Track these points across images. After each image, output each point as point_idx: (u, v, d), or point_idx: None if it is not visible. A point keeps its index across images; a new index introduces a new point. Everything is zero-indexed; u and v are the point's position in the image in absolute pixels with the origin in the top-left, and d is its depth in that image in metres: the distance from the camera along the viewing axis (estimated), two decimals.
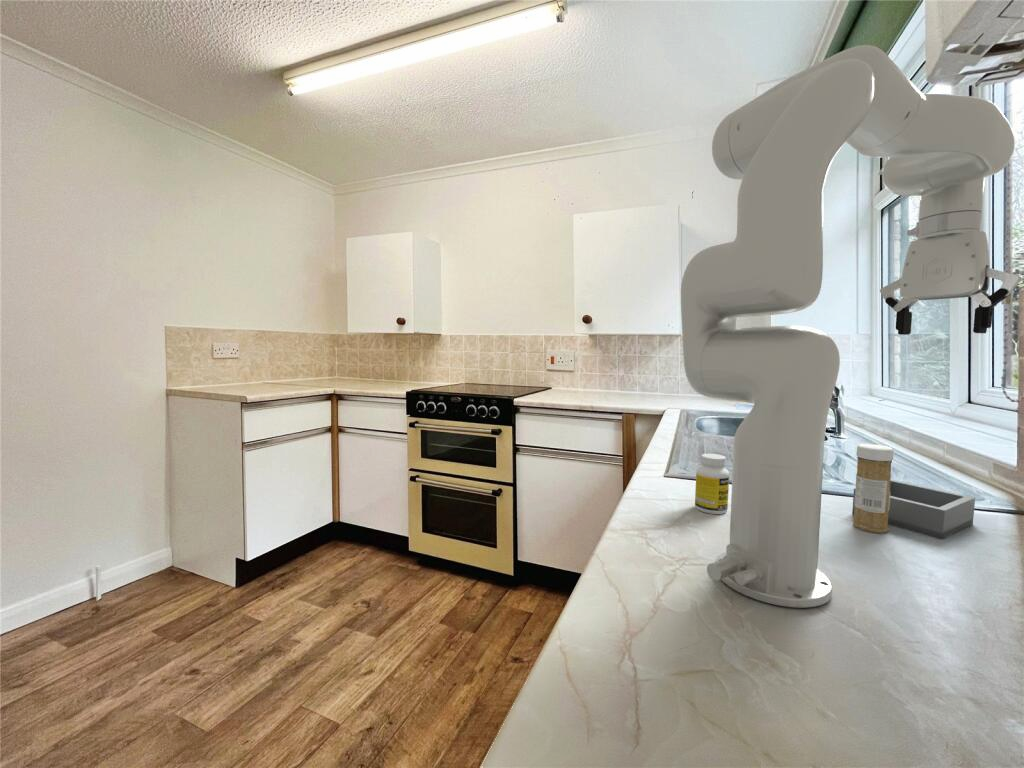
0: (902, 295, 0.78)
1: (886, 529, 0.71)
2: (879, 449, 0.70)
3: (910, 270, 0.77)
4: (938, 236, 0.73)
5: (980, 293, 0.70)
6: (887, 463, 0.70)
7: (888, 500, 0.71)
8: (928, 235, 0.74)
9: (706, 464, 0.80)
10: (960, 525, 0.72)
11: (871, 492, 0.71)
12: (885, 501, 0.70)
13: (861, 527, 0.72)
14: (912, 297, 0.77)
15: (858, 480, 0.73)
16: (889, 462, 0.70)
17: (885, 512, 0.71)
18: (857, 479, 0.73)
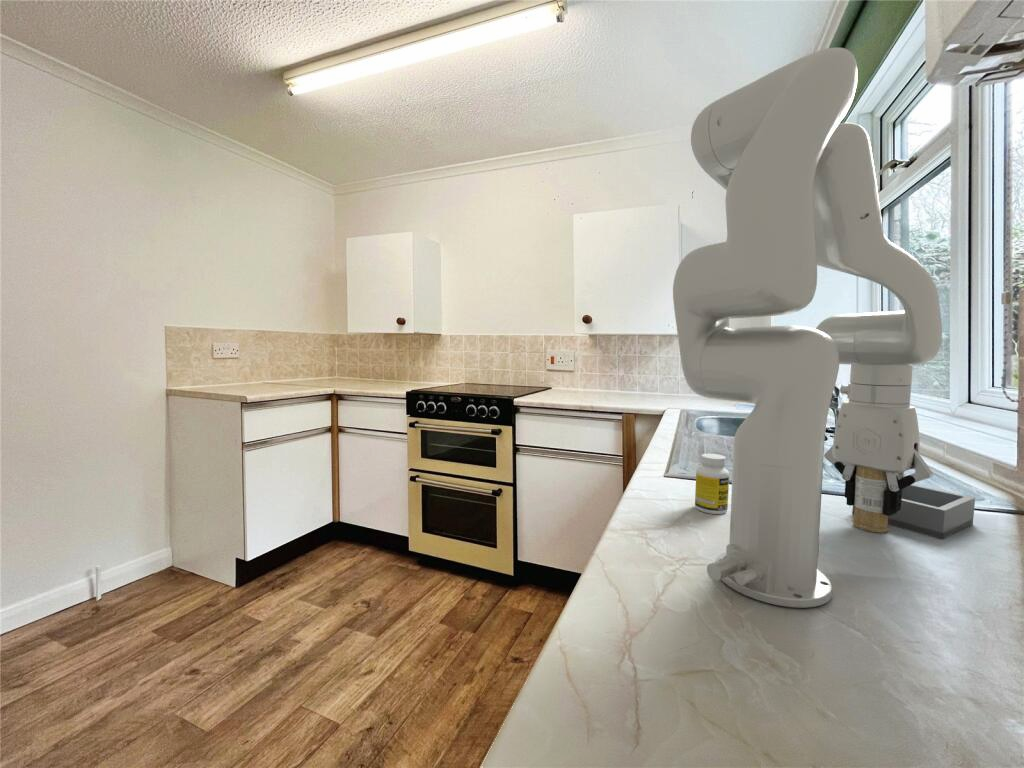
0: (834, 457, 0.75)
1: (886, 529, 0.71)
2: None
3: (841, 433, 0.74)
4: (867, 405, 0.70)
5: (895, 477, 0.69)
6: None
7: None
8: (857, 403, 0.71)
9: (706, 464, 0.80)
10: (960, 525, 0.72)
11: (871, 491, 0.71)
12: None
13: (861, 527, 0.72)
14: (843, 461, 0.73)
15: (858, 480, 0.73)
16: None
17: None
18: (857, 479, 0.73)
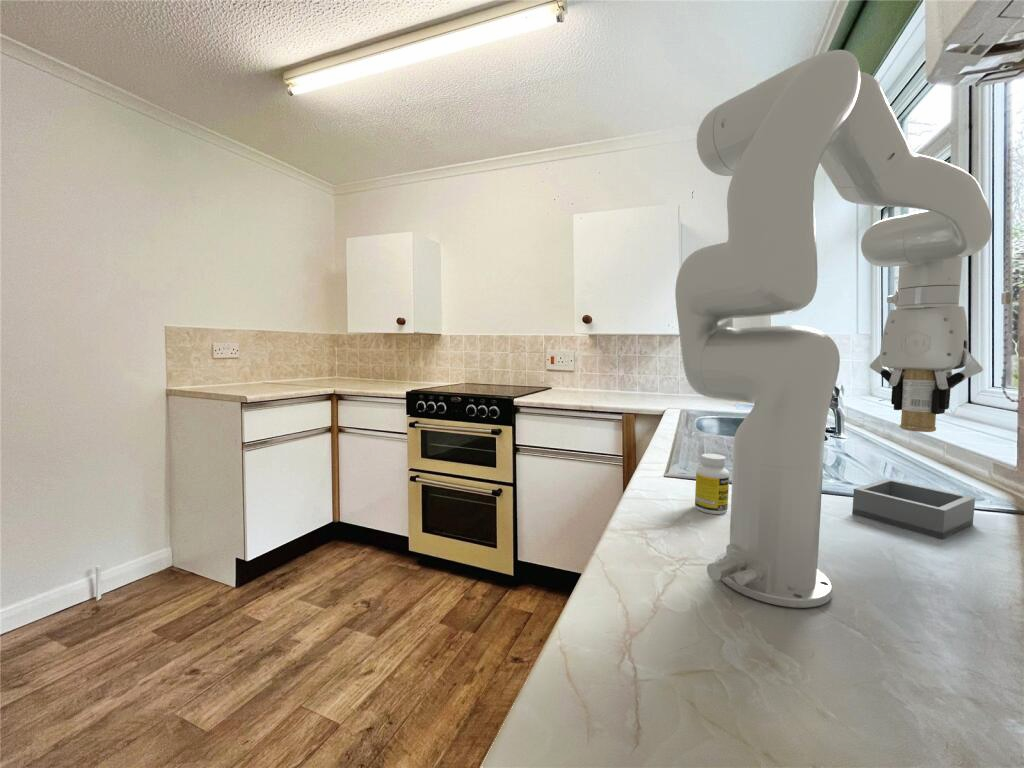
0: (881, 363, 0.77)
1: (934, 428, 0.73)
2: None
3: (889, 339, 0.76)
4: (916, 308, 0.73)
5: (944, 375, 0.71)
6: None
7: None
8: (907, 306, 0.73)
9: (706, 464, 0.80)
10: (960, 525, 0.72)
11: (920, 392, 0.73)
12: None
13: (909, 428, 0.75)
14: (891, 366, 0.76)
15: (905, 383, 0.75)
16: None
17: None
18: (904, 382, 0.75)
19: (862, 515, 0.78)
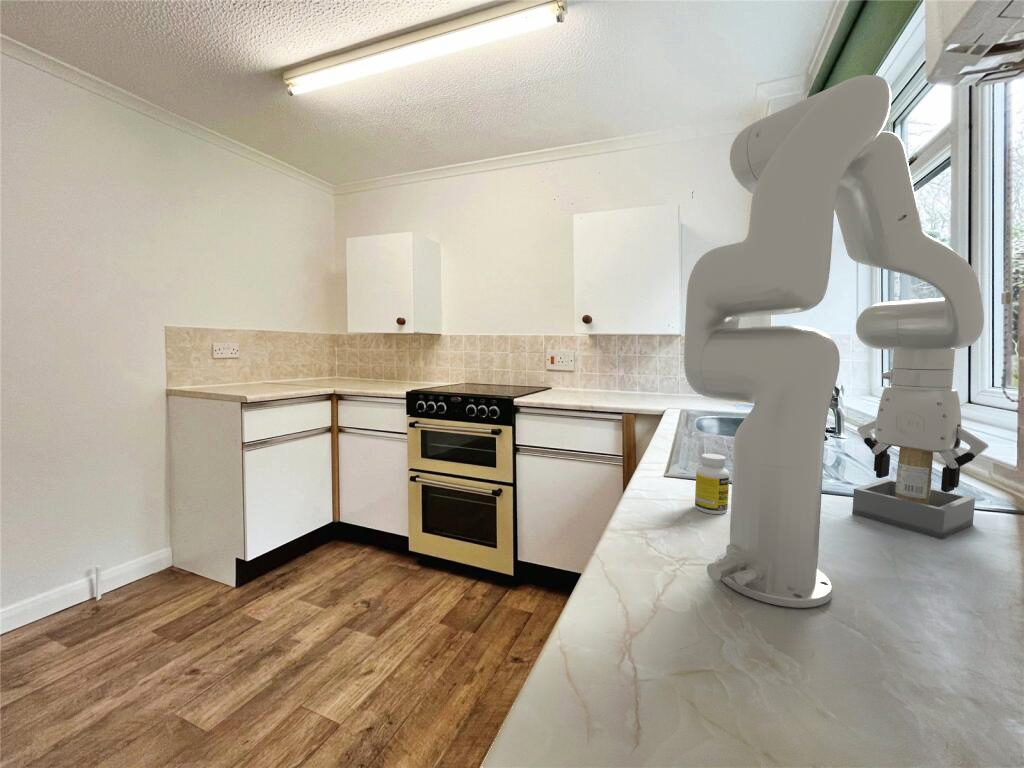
0: (876, 439, 0.78)
1: None
2: None
3: (884, 416, 0.77)
4: (911, 389, 0.74)
5: (949, 453, 0.71)
6: None
7: (929, 486, 0.74)
8: (901, 387, 0.74)
9: (706, 464, 0.80)
10: (960, 525, 0.72)
11: (913, 478, 0.74)
12: (926, 487, 0.74)
13: None
14: (886, 443, 0.77)
15: (900, 467, 0.76)
16: None
17: (926, 497, 0.74)
18: (899, 466, 0.76)
19: (862, 515, 0.78)
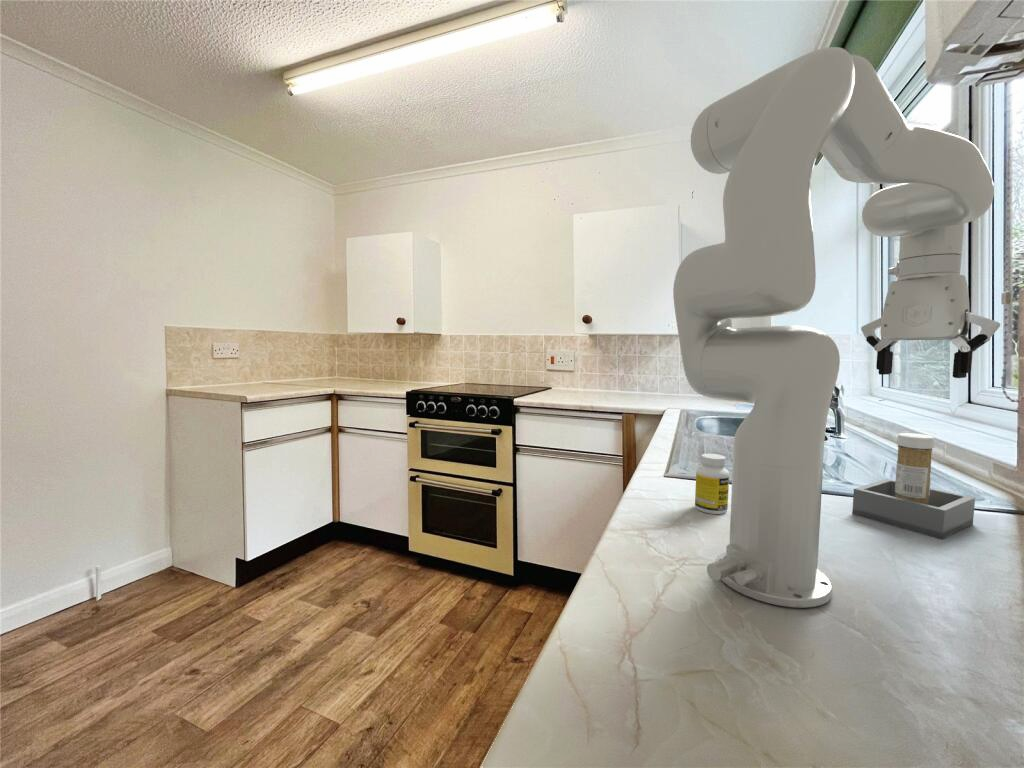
0: (882, 335, 0.77)
1: None
2: (920, 437, 0.74)
3: (890, 311, 0.76)
4: (918, 278, 0.72)
5: (959, 338, 0.69)
6: (927, 451, 0.74)
7: (928, 486, 0.74)
8: (907, 277, 0.73)
9: (706, 464, 0.80)
10: (960, 525, 0.72)
11: (912, 478, 0.74)
12: (926, 487, 0.74)
13: None
14: (892, 338, 0.76)
15: (899, 467, 0.76)
16: (930, 450, 0.74)
17: (926, 497, 0.74)
18: (898, 466, 0.77)
19: (862, 515, 0.78)
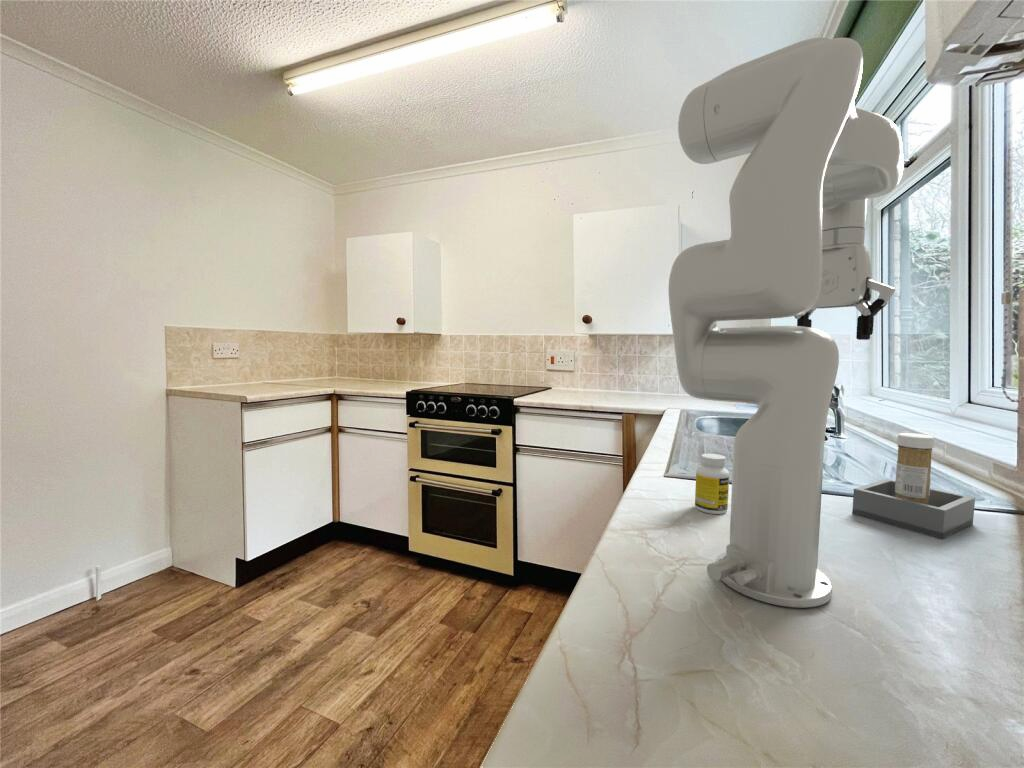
0: None
1: None
2: (920, 437, 0.74)
3: None
4: (827, 250, 0.80)
5: (861, 303, 0.77)
6: (927, 451, 0.74)
7: (928, 486, 0.74)
8: None
9: (706, 464, 0.80)
10: (960, 525, 0.72)
11: (912, 478, 0.75)
12: (926, 487, 0.74)
13: None
14: None
15: (899, 467, 0.76)
16: (930, 450, 0.74)
17: (926, 497, 0.74)
18: (898, 466, 0.77)
19: (862, 515, 0.78)
